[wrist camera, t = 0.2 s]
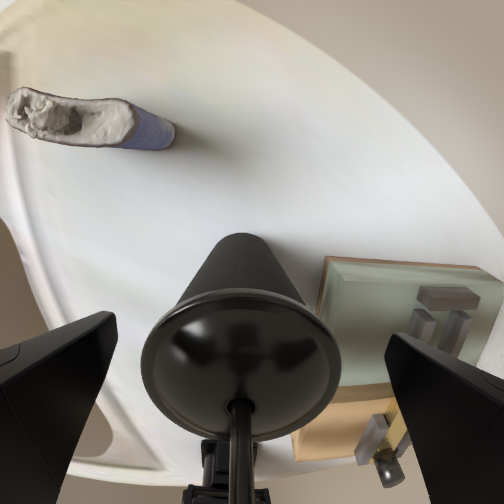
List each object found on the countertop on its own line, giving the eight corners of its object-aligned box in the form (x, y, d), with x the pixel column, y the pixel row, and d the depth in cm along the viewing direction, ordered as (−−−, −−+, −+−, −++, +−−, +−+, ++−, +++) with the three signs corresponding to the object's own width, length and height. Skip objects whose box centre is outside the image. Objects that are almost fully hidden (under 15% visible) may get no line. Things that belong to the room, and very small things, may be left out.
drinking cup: (293, 214, 22) (465, 439, 3) (288, 306, 25) (354, 555, 6) (190, 213, 22) (17, 438, 3) (194, 306, 25) (133, 555, 5)
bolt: (383, 449, 25) (398, 486, 20) (363, 453, 25) (377, 491, 20) (419, 382, 22) (446, 423, 17) (398, 385, 22) (423, 429, 17)
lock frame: (417, 413, 30) (439, 450, 24) (289, 427, 29) (297, 477, 23) (476, 266, 24) (521, 294, 18) (325, 256, 24) (355, 293, 17)
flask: (180, 122, 20) (127, 95, 10) (169, 160, 21) (107, 165, 11) (78, 101, 19) (-12, 82, 9) (68, 136, 20) (-25, 135, 10)
